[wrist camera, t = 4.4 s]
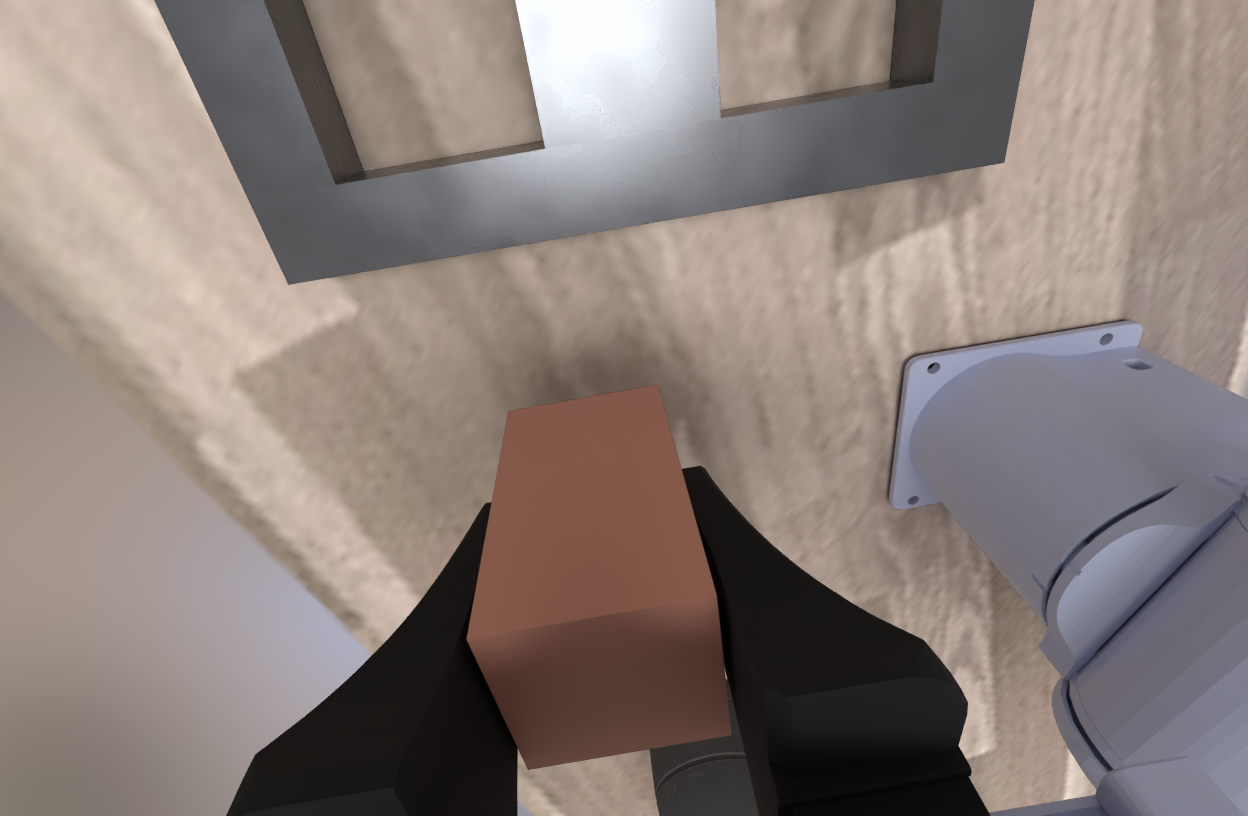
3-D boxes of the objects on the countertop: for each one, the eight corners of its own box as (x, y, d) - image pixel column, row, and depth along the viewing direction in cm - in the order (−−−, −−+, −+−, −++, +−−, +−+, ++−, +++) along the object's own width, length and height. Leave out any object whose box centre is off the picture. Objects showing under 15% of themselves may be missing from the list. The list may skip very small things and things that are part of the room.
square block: (657, 384, 15) (717, 596, 9) (674, 499, 17) (731, 735, 11) (508, 411, 15) (466, 639, 9) (542, 523, 17) (528, 770, 11)
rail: (1027, -342, 14) (1112, -420, 11) (956, 152, 19) (1004, 162, 17) (128, -183, 14) (47, -229, 12) (319, 261, 19) (288, 284, 17)
